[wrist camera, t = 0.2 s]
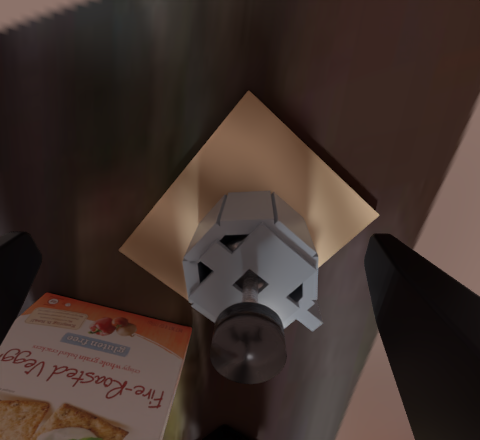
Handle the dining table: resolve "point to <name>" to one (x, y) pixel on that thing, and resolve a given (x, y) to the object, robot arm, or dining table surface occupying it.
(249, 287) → the plunger
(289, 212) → the grey faceted open cylinder
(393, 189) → the dining table surface
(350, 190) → the board
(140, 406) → the cracker box
